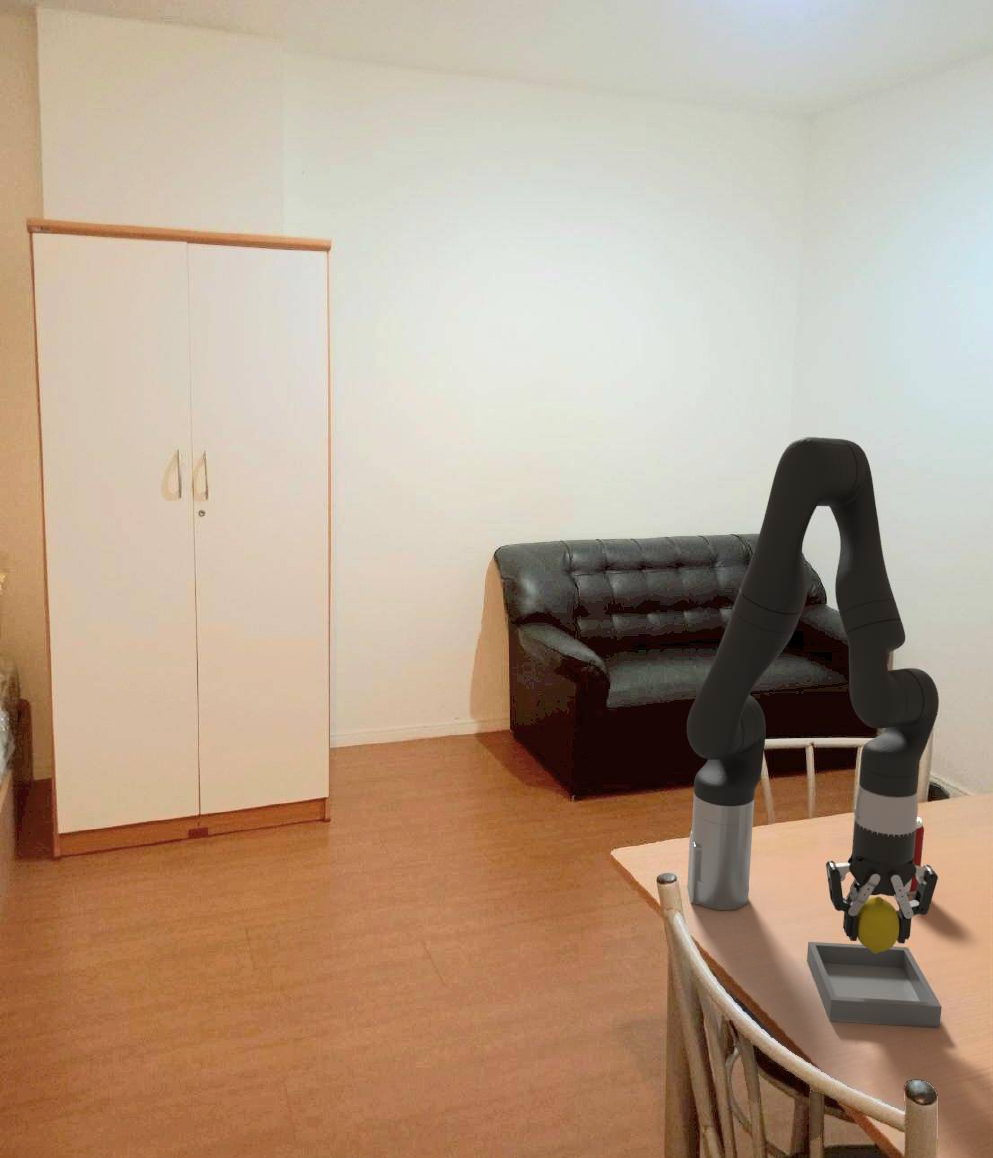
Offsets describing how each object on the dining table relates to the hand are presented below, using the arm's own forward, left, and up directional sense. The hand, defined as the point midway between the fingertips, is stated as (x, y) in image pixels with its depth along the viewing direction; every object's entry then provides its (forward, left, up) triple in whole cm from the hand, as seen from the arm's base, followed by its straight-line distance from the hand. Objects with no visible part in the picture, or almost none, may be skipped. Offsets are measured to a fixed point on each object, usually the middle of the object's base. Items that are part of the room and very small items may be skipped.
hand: (875, 938), depth 132 cm
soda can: (+13, +30, -8) cm, 34 cm away
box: (0, 0, -8) cm, 8 cm away
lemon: (0, 0, -2) cm, 2 cm away
